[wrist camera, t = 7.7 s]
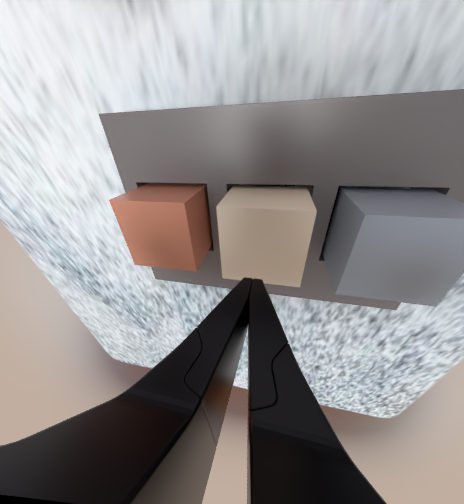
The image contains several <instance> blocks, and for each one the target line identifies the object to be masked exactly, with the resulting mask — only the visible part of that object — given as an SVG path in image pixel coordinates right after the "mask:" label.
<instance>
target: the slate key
mask: <svg viewBox="0 0 464 504" xmlns="http://www.w3.org/2000/svg"><path fill="white" fill-rule="evenodd" d="M322 254H323V257H324V260H325V263H326V266H327V269H328V273H329V276H330V279H331V282H332V285H333V288H334V291H335V294H338V295H346V296H354V297H363V298H371V299H379V300H387V301H396V302H404V303H412V304H420V305H429V306H436V305H437V304H438V303H439V302H440V301H441V299H442V298H443V297H444V296H445V295H446V293H447V292H448V291H449V290H450V289H451V287H452V286H453V285H454V284H455V283H456V281H457V280H458V279H459V278H460V277H461V275H462V274H463V273H464V203H463V202H461V201H458V200H456V199H454V198H451V197H449V196H447V195H444V194H442V193H439V192H437V191H435V190H409V189H357V188H340V191H339V195H338V198H337V202H336V206H335V209H334V213H333V216H332V220H331V224H330V227H329V231H328V235H327V238H326V242H325V245H324V249H323V253H322Z"/></svg>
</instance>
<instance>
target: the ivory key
mask: <svg viewBox="0 0 464 504" xmlns="http://www.w3.org/2000/svg"><path fill="white" fill-rule="evenodd" d="M216 209H217V221H218V233H219V244H220V256H221V268H222V278H224V279H233V280H242V279H243V278H244V277H248V278H252V279H254V278H256V279H262V280H263V282H264V283H266V284H275V285H283V286H292V287H300V285H301V280H302V276H303V271H304V267H305V262H306V258H307V253H308V249H309V244H310V240H311V235H312V231H313V226H314V222H315V218H316V213H317V210H316V208H315V205H314V203H313V200H312V198H311V196H310V193H309V191H308V188H307V187H297V186H243V185H233V186H232V188H231V189H230V190H229V191H228V193H227V194H226V195H225V197H224V198H223V199H222V200H221V202H220V203H219V204H218V205H217V207H216Z"/></svg>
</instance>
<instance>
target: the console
mask: <svg viewBox="0 0 464 504" xmlns="http://www.w3.org/2000/svg"><path fill="white" fill-rule="evenodd" d="M99 116H100V119H101V122H102V125H103V128H104V131H105V134H106V137H107V140H108V143H109V145H110V148H111V151H112V154H113V157H114V160H115V163H116V166H117V169H118V172H119V174H120V177H121V180H122V183H123V186H124V189H125V192H126V193H127V192H129V191H131V190H134V189H136V188H138V187H141V186H143V185H145V184H148V183H206V184H207V190H208V200H209V209H210V218H211V228H212V237H213V244H212V246H211V248H210V249H209V251H208V253H207V254H206V256H205V258H204V260H203V261H202V263H201V265H200V267H199V268H198V270H197V272H195V271H187V270H178V269H169V268H161V267H152V266H151V267H152V270H153V273H154V276H155V279H159V280H167V281H175V282H183V283H191V284H198V285H206V286H214V287H222V288H229V289H233V288H234V287H235V286H236V285H237V284H238V283H239V282H240V281H241V280H233V279H224V278H222V268H221V256H220V244H219V233H218V221H217V209H216V207H217V205H218V204H219V203H220V202H221V200H222V199H223V198H224V197H225V195H226V194H227V193H228V191H229V190H230V189H231V188H232V186H233V185H235V184H265V185H307V186H306V187H307V188H308V191H309V193H310V196H311V198H312V200H313V203H314V205H315V208H316V210H317V213H316V218H315V222H314V226H313V231H312V235H311V240H310V244H309V249H308V253H307V258H306V262H305V267H304V271H303V276H302V280H301V285H300V287H292V286H283V285H275V284H266V283H264V285H265V287H266V290H267V292H268V294H276V295H284V296H291V297H299V298H307V299H315V300H322V301H330V302H338V303H346V304H353V305H361V306H369V307H377V308H384V309H392V310H396V309H397V308H398V306H399V305H400V303H401V302H396V301H387V300H379V299H371V298H363V297H354V296H346V295H338V294H335V291H334V288H333V285H332V282H331V279H330V276H329V273H328V269H327V266H326V263H325V260H324V257H323V254H322V253H323V249H324V245H325V242H324V239H325V235H326V232H327V228H328V224H329V220H330V217H331V213H332V209H333V206H334V202H335V198H336V194H337V191H338V187H339V186H384V187H412V189H411V190H435V191H437V192H439V193H442V194H444V195H447V196H449V197H451V198H454V199H456V200H458V201H461V202H463V203H464V89H461V90H446V91H431V92H416V93H402V94H387V95H372V96H357V97H342V98H327V99H313V100H298V101H283V102H268V103H253V104H239V105H224V106H209V107H194V108H179V109H165V110H150V111H135V112H120V113H105V114H99Z"/></svg>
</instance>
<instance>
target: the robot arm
mask: <svg viewBox="0 0 464 504" xmlns="http://www.w3.org/2000/svg"><path fill="white" fill-rule="evenodd" d="M247 328H248V440H247V443H248V444H247V446H248V447H247V450H248V452H247V453H248V454H247V504H386V502H385V501H384V500H383V499H382V497H381V496H380V495H379V494H378V493H377V491H376V490H375V489H374V488H373V486H372V485H371V484H370V483H369V481H368V480H367V479H366V478H365V477H364V475H363V474H362V473H361V472H360V470H359V469H358V468H357V466H356V465H355V464H354V462H353V461H352V460H351V458H350V457H349V455H348V454H347V452H346V451H345V449H344V448H343V446H342V444H341V443H340V441H339V439H338V437H337V436H336V434H335V432H334V431H333V429H332V427H331V425H330V423H329V421H328V420H327V418H326V416H325V414H324V412H323V411H322V409H321V407H320V405H319V403H318V401H317V400H316V398H315V396H314V394H313V392H312V391H311V389H310V387H309V385H308V383H307V381H306V379H305V377H304V375H303V374H302V372H301V370H300V368H299V365H298V363H297V361H296V359H295V357H294V354H293V352H292V350H291V347H290V345H289V344H288V340H287V338H286V335H285V333H284V331H283V328H282V326H281V323H280V321H279V318H278V316H277V314H276V311H275V309H274V306H273V304H272V302H271V299H270V297H269V294H268V292H267V290H266V287H265V285H264V282H263V280H262V279H256V278H254V279H252V278H248V277H244V278H243V279H242V280H241V281H240V282H239V283H238V284H237V285H236V286H235V287H234V288H233V289H232V290H231V291H230V292H229V294H228V295H227V296H226V297H225V298H224V299H223V300H222V301H221V302H220V303H219V304H218V305H217V306H216V307H215V308H214V309H213V310H212V312H211V313H210V314H209V315H208V316H207V317H206V318H205V319H204V320H203V321H202V322H201V323H200V324H199V325H198V326H197V328H195V329H194V330H193V332H192V333H191V334H190V335H189V336H188V337H187V338H186V339H185V340H184V341H183V342H182V343H181V344H180V345H179V346H178V347H176V348H175V349H174V350H173V351H172V352H171V353H170V354H169V355H168V356H166V357H165V358H164V359H163V360H162V361H161V362H159V363H158V364H157V365H156V366H155V367H154V368H153V369H151V370H150V371H149V372H148V373H147V374H146V375H144V376H143V377H142V378H141V379H140V380H139V381H137V382H136V383H135V384H134V385H133V386H131V387H130V388H129V389H127V390H126V391H125V392H123V393H122V394H120V395H118V396H117V397H115V398H113V399H112V400H109V401H107V402H105V403H103V404H100V405H98V406H96V407H94V408H92V409H89V410H87V411H85V412H83V413H80V414H78V415H76V416H74V417H71V418H69V419H67V420H65V421H63V422H60V423H58V424H56V425H54V426H52V427H49V428H47V429H45V430H43V431H40V432H38V433H36V434H34V435H31V436H29V437H27V438H24V439H21V440H19V441H16V442H13V443H9V444H6V445H2V446H0V504H202V500H203V496H204V493H205V489H206V485H207V481H208V478H209V474H210V470H211V466H212V462H213V459H214V455H215V451H216V446H217V443H218V439H219V435H220V432H221V428H222V424H223V420H224V416H225V412H226V409H227V405H228V401H229V397H230V394H231V390H232V386H233V382H234V378H235V374H236V371H237V367H238V363H239V359H240V355H241V352H242V348H243V344H244V340H245V336H246V333H247Z"/></svg>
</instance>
